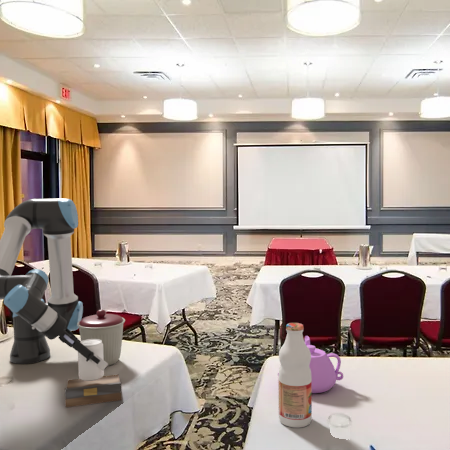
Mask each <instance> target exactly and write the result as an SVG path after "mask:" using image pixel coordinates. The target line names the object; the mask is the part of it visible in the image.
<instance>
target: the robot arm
mask: <svg viewBox="0 0 450 450" xmlns="http://www.w3.org/2000/svg"><path fill="white" fill-rule="evenodd" d="M78 226H79V214H78V210H77V206H76V204H75V202H74V201H73V200H72V199H71V198H61V197H59V198H31V199H27V200H24V201H22V202H21V203H19V204H18V205H17V206H15V207H14V208H13V209H12V210H11V211H10V212H9V213H8V215H7V216H6V218H5V221H4V223H3V227H4V230H3V233H2V235H1V238H0V300H3V305H5V306H6V307H7V308H8V309H9V311H11V313H12V320H13V321H12V325H13V326H12V327H13V344H12V347H11V351H10V354H9V361H10V363H12V364H16V365H17V364H18V365H20V364H21V365H24V364H26V365H27V364H34V363H35V364H36V363H39V362H42V361H44V360H47V359H48V358H49V357H51V349H50V346H49V344H48V340H51V341H52V340H55V339H56V338H57V337H58V339H59V340H60V341H61V342H62V343H64V344H66V345H67V346H68V347H70V348H72V349H74V350H75V351H76V352H77V353H78V352H79V353H80V354H81V355H83V356H84V357H85V358H87V360H86V361H87V362H88V360H89V361H91V362H92V360H93V361H94V362H95V363H96V364H97V367H98V368H100V369H101V370H102V371H103V370H104V371H105V368H106V367H108V366H107V365H108V363H107V362H105V361H104V360H103V359H101V358H100V357H99V356H97V357H95V356H94V353H93V352H92V351H90V350H89V349H88V348H87V347H85V346H84V345H83V344H82V343H80V342H81V339H79V338H78V337H77V336H76V335H75V334H74V333H73V332H72V331H76V330H78V329H79V327H78V325H77V323H78V322H79V321H80V320H82V319H83V318H82V317H83V313H84V306H83V304H84V303H83V302H82V301H80V300H79V296H78V295H76V294H75V293H74V276H73V259H72V258H73V257H72V255H73V254H72V240H71V239H72V238H71V236H72V235H73V234H74V233H75V229H76V228H78ZM34 229H35V230H36V229H37V230H40V229H41V230H42V234H43V235H44V236H45V237H46V238H47V251H48V264H49V265H48V266H49V276H48V274H47V273H46V272H45V271H44V270H42V269H39V268H38V269H37V268H35V269H31V270H29V271H28V272H26V274H25V275H24V274H20V275H15V274H14V275H12V274H13V271H14V269H15V265H16V264H17V261H18V257H19V254H20V252H21V250H22V247H23V244H24V242H25V239H26V236H28V235H29V234H30V233H31V232H32V230H34ZM49 278H50V280H49ZM49 281H50V293H51V294H50V297H49V298H48V299H47V302H45V300H44V299H43V297H44V294H45V292H46V290H47V288H48V285H49V284H48V283H49ZM46 338H47V339H48V340H47V339H46Z"/></svg>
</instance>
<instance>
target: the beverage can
mask: <svg viewBox="0 0 450 450" xmlns="http://www.w3.org/2000/svg"><path fill="white" fill-rule="evenodd" d="M80 341H81V340H80ZM80 343H82V344H83V345H84V346H85V347H87V348H88V349H89V350H90V351H92V352H93V353H94V356H95V357H97V356H99V357H100V358H101V359H103V360H104V355H103V343H102V341H101V340H99V339H87V340H83V341H81V342H80ZM86 360H87V358H85V357H84V356H83V355H81V354H80V353H79V352H78V351H77V363H78V365H77V366H78V367H77V368H78V379H81V380H84V381H94V380H98V379H100V378H101V377H103V376H105V369H104V370H103V371H102V370H101V369H100V368H98V367H97V364H96V363H95V362H94V361H93V360H92V362H91V361H89V360H88V362H87V361H86Z"/></svg>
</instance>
